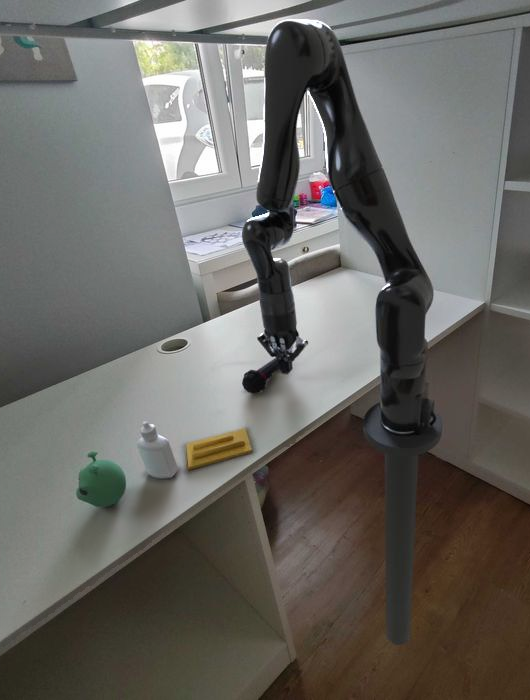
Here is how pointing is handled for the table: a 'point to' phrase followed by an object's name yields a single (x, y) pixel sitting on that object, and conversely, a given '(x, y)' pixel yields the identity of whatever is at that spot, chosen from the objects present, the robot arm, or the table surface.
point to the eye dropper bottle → (156, 453)
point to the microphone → (259, 377)
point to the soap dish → (218, 448)
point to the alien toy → (101, 482)
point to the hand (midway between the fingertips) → (286, 372)
